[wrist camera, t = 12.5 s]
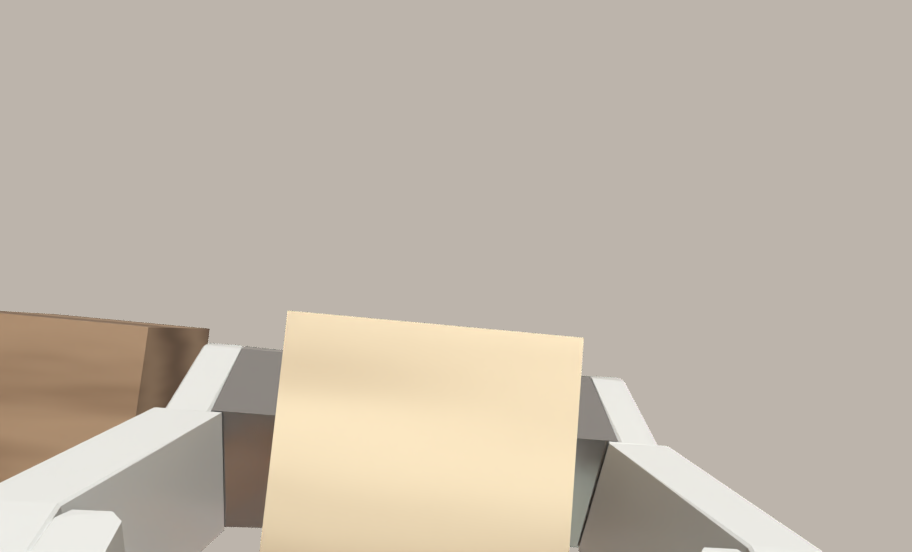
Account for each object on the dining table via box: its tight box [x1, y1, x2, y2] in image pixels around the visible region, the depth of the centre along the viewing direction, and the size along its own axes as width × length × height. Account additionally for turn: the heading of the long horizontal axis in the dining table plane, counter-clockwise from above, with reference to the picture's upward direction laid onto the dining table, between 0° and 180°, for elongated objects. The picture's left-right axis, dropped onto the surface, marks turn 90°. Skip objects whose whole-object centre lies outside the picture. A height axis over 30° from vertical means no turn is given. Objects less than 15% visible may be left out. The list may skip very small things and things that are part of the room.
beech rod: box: [260, 311, 584, 552], centre depth 16 cm, size 20×3×3 cm, turn 6°
